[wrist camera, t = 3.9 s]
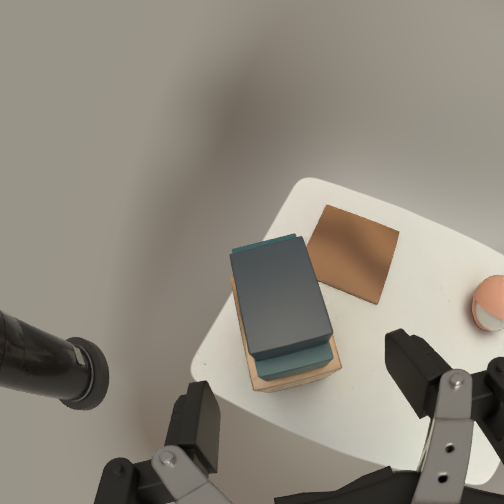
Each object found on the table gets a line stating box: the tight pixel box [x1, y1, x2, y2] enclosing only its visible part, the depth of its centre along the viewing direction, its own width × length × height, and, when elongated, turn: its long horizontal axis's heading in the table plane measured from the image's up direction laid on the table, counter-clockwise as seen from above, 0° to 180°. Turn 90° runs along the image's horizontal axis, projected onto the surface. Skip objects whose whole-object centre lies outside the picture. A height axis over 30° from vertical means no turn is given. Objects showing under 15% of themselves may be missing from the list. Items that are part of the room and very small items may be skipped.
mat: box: [306, 205, 399, 305], centre depth 38 cm, size 12×12×1 cm
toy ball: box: [472, 275, 504, 331], centre depth 27 cm, size 8×8×8 cm
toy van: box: [230, 234, 334, 381], centre depth 19 cm, size 9×5×8 cm, turn 11°
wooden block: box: [230, 276, 342, 393], centre depth 28 cm, size 10×7×13 cm
